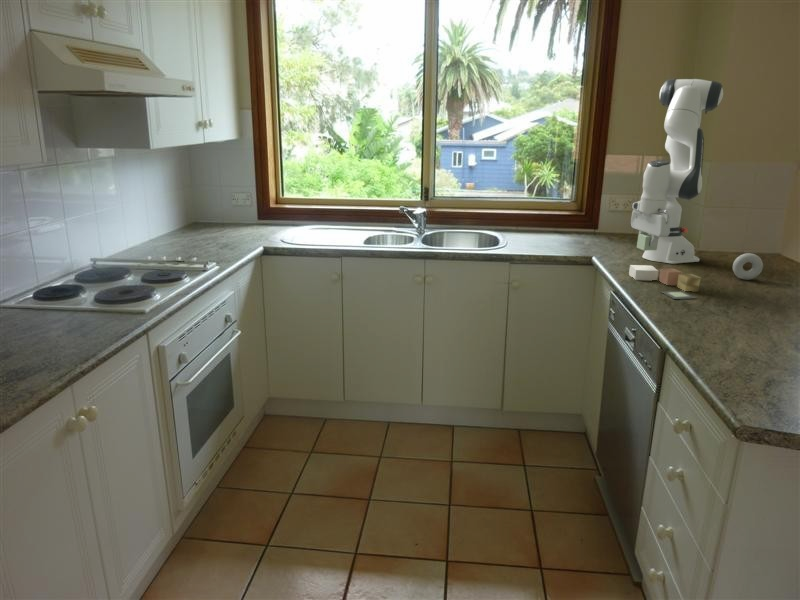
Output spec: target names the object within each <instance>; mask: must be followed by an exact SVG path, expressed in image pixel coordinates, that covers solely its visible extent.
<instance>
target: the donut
mask: <svg viewBox="0 0 800 600" xmlns="http://www.w3.org/2000/svg"><path fill="white" fill-rule="evenodd" d="M747 263H750V264H751V268H750V269H748V270H745V269H744V265H745V264H747ZM763 268H764V262H763V260H762V258H761V257H760V256H759V255H757V254H755V253H752V252H751V253H750V252H747V253H743V254H740V255H739V256H738V257H736V258H735V260H734V261H733V263H732V271H733V273H734V275H735V276H736V277H737V278H739V279H741V280H745V281H747V280H753V279H755V278H757V277H758V276H759V275H760V274H761V273H762V271H763Z"/></svg>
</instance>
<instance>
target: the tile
mask: <svg viewBox="0 0 800 600" xmlns="http://www.w3.org/2000/svg"><path fill="white" fill-rule="evenodd" d="M661 292H662V293H664V294H666V295H668V296H670V297H672V298H674V299H680V300H697V297H696V296H694V295H691V294H689V293H688V292H685V291H683V290H676V291H675V290H674V291H673V290H670V291H661ZM662 293H661V294H662ZM664 294H663V295H664ZM666 295H665V296H666ZM668 296H667V297H668ZM670 297H669V298H670ZM672 298H671V299H672ZM674 299H673V300H674Z"/></svg>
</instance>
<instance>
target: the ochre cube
mask: <svg viewBox="0 0 800 600" xmlns="http://www.w3.org/2000/svg"><path fill="white" fill-rule="evenodd" d="M701 279H702V278H701V276H698V275H696V274H693V273H681V274H679V276H678V283H677V285H676V288H677V287H678V288H680V289H682V290H681V291H683V290H684V291H683V292H685V291H692V292H699V290H700V284H701ZM678 288H677V289H678ZM680 289H679V290H680Z"/></svg>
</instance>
